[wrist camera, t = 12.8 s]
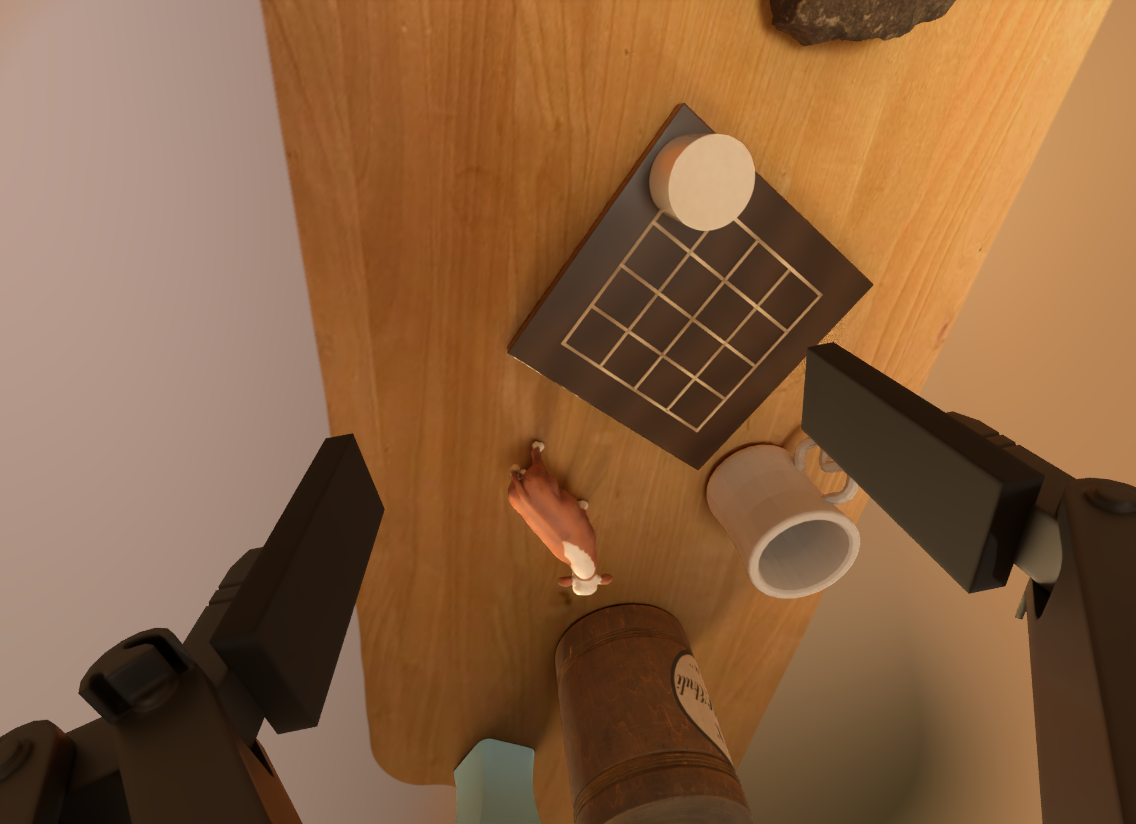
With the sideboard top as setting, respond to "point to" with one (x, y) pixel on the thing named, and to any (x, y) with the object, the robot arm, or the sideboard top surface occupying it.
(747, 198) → the white short cylinder
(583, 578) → the bull figurine
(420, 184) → the sideboard top surface
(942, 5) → the stone
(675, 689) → the wooden container
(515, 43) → the sideboard top surface
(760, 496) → the mug
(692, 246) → the grid board
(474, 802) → the blue toy chair
